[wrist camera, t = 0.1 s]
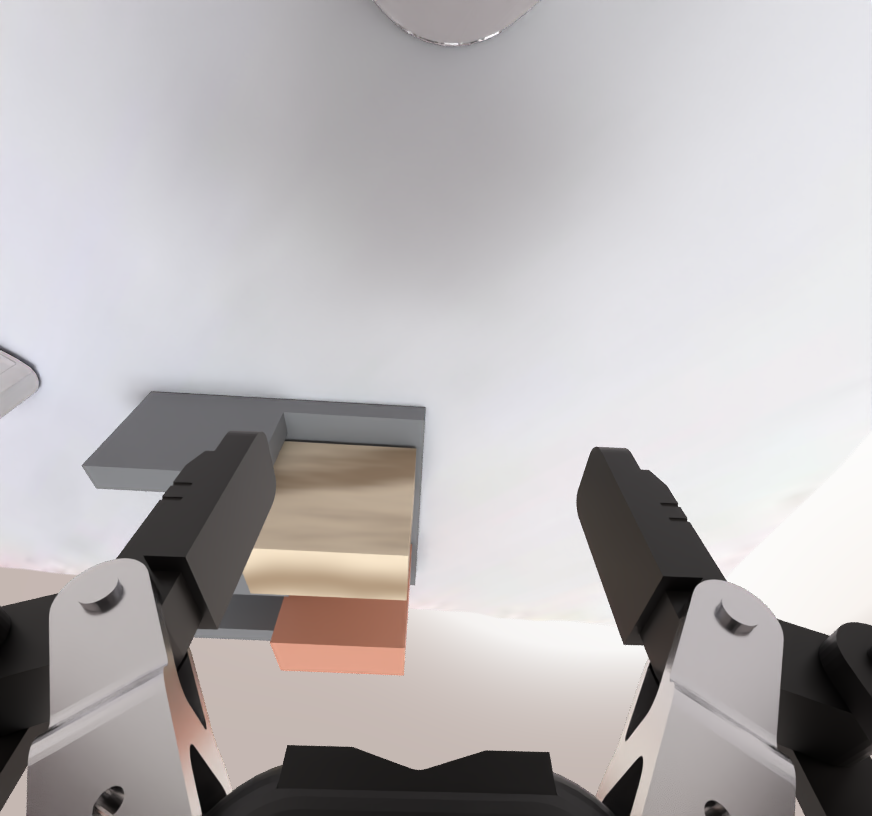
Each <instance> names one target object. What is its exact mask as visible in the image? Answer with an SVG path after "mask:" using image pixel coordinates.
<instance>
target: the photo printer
mask: <svg viewBox="0 0 872 816" xmlns="http://www.w3.org/2000/svg"><path fill="white" fill-rule="evenodd" d="M38 386H39V381H38V377H37V375H36V373H35V372H34V371H33V370H32V369H31V368H30V367H29V366H28V365H26V364H24V363H23V362H21V361H20V360H18V359H16V358H14V357H13V356H11V355H9V354H7V353H5V352H3V351H1V350H0V419H1V418H2V417H3V416H5V415H6V414H7V413H9V412H10V411H11V410H13V409H14V408H15V407H17V406H18V405H19V404H21V403H22V402H23V401H25V400H26V399H27V398H29V397H30V396H31V395H33V394H34V393H35V392H36V391H37V389H38Z"/></svg>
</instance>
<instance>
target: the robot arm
mask: <svg viewBox="0 0 872 816" xmlns="http://www.w3.org/2000/svg"><path fill="white" fill-rule="evenodd" d="M373 1H374V2H375V3H376V4H377V5H378V7H379V8H380V9H381V10H382V11H383V12H384V13H385V14H386V15H387V16H388V17H389V18H390V19H391V20H392V21H394V23H395V24H396V25H397V26H398V27H400V28H401V29H403V30H404V31H406V32H407V33H409V34H411V35H413V36H415V37H417V38H419V39H421V40H423V41H425V42H429V43H433V44H438V45H442V46H447V47H448V46H465V45H471V44H474V43H477V42H481V41H484V40H486V39H489V38H491V37H493V36H495V35H497V34H499V33H501V32H502V30H504V29H505V28H507V27H508V26H510V25H511V24H513V23H514V22H515V21H516V20H517V19H519V18H520V17H521V16H523V15H524V14H525V13H527V12H528V11H529V10H530V9H531V8H533V7H534V6H535V5H536V4H537V3H539V2H540V1H541V0H373ZM275 493H276V477H275V472H274V468H273V463H272V459H271V454H270V450H269V445H268V441H267V437H266V435H265V433H264V432H257V431H234V430H232V431H229V432H228V433H227V434H226V435H225V436H224V438H223V439H222V441H221V442H220V444H219V445H218V447H217V448H216V450H215V451H204V452H203V453H202V454H200V455H199V456H197V457H196V458H195V459H193V460H192V461H190V462H189V463H188V464H186V465H185V467H184V468H183V469H182V471H181V472H180V473H179V475H178V476H177V477H176V479H175V480H174V481H173V486H170V487H169V488H168V490H167V491H166V492H165V494H164V495H163V496H162V497H163V499H162V500H159V502H158V503H157V504H156V506H155V507H154V508H153V510H152V511H151V513H150V514H149V515H148V517H147V518H146V519H145V521H144V522H143V523H142V525H141V526H140V527H139V529H138V530H137V531H136V533H135V534H134V535H133V537H132V538H131V540H130V541H129V542H128V544H127V545H126V546H125V548H124V549H123V550H122V552H121V553H120V554H119V556H118V557H117V558H116V559H114V560H110V561H106V562H103V563H100V564H97V565H95V566H93V567H91V568H89V569H87V570H85V571H84V572H82V573H80V574H79V575H78V576H76V577H75V578H73V579H72V580H71V581H70V582H69V583H67V584H66V585H65V587H64V588H63V589H62V590H61V591H60V592H59V593H57V594H54V595H49V596H45V597H40V598H36V599H32V600H28V601H23V602H19V603H15V604H10V605H6V606H2V607H1V606H0V811H1V810H2V808H3V806H4V804H5V803H6V801H7V799H8V798H9V796H10V794H11V793H12V791H13V789H14V788H15V786H16V784H17V782H18V781H19V779H20V777H21V776H22V774H23V772H24V771H25V768H26V767H27V766H28V771H27V813H26V816H795V797H796V798H797V800H798V802H799V804H800V806H801V808H802V810H803V813H804V815H805V816H872V759H871V757H870V755H872V626H871V625H868V624H863V623H858V622H856V623H855V622H851V623H846V624H844V625H842V626H840V627H839V628H838V629H837V630H836V631H835V632H834V633H833V634H832V635H831V636H828V635H826V634H822V633H819V632H816V631H813V630H809V629H807V628H803V627H800V626H797V625H794V624H791V623H788V622H784V621H782V620H779V619H777V618H776V617H775V615H774V614H773V613H772V611H771V610H770V609H769V608H768V607H767V606H766V605H765V604H764V603H763V602H762V601H761V600H760V599H758V598H757V597H756V596H755V595H753V594H752V593H750V592H749V591H747V590H746V589H744V588H742V587H740V586H737V585H735V584H733V583H730V582H727V581H726V579H725V578H724V576H723V574H722V573H721V571H720V570H719V568H718V567H717V565H716V563H715V562H714V560H713V559H712V557H711V555H710V554H709V552H708V551H707V549H706V547H705V546H704V544H703V543H702V541H701V539H700V538H699V536H698V535H697V533H696V531H695V530H694V528H693V527H692V525H691V523H690V522H687V517H686V515H685V514H684V512H683V511H682V509H681V507H678V503H677V501H676V499H675V498H674V496H673V495H672V493H671V492H670V490H669V488H668V487H667V485H665V484H664V483H663V482H662V481H661V480H660V479H659V478H657V477H656V476H655V475H654V474H653V473H652V472H650V471H649V470H641V469H640V468H639V466H638V464H637V462H636V461H635V459H634V457H633V455H632V454H631V452H630V451H629V450H628V449H626V448H609V447H594V448H593V449H592V451H591V453H590V455H589V458H588V461H587V464H586V468H585V471H584V474H583V477H582V480H581V483H580V486H579V489H578V492H577V512H578V516H579V519H580V522H581V525H582V528H583V531H584V534H585V536H586V539H587V542H588V545H589V548H590V551H591V553H592V556H593V559H594V562H595V565H596V568H597V570H598V573H599V576H600V579H601V582H602V585H603V587H604V590H605V593H606V596H607V599H608V602H609V604H610V607H611V610H612V613H613V616H614V618H615V621H616V624H617V627H618V630H619V633H620V635H621V638H622V641H623V644H624V645H644V647H645V650H646V652H647V654H648V657H649V659H648V660H647V662H646V664H645V666H644V669H643V672H642V675H641V678H640V681H639V684H638V687H637V690H636V692H635V696H634V699H633V701H632V705H631V707H630V710H629V713H628V717H627V719H626V722H625V726H624V728H623V731H622V734H621V737H620V740H619V743H618V746H617V748H616V751H615V753H614V755H613V758H612V759H611V761H610V763H609V765H608V767H607V769H606V772H605V774H604V776H603V778H602V781H601V783H600V786H599V789H598V791H597V794H596V797H595V796H594V795H592V794H591V793H589V792H588V791H587V790H585V789H584V788H582V787H580V786H579V785H578V784H576V783H574V782H572V781H571V780H569V779H567V778H565V777H563V776H561V775H559V774H556V773H554V772H553V771H552V765H551V759H550V754H549V752H522V751H521V752H519V751H483V752H480V753H476V754H473V755H470V756H466V757H463V758H460V759H457V760H454V761H450V762H447V763H444V764H441V765H438V766H434V767H431V768H428V769H424V770H414V769H411V768H408V767H405V766H402V765H400V764H397V763H394V762H392V761H389V760H386V759H383V758H381V757H378V756H375V755H373V754H370V753H367V752H365V751H362V750H359V749H357V748H354V747H334V746H295V745H287V749H286V753H285V758H284V761H283V765H281V766H278V767H275V768H272V769H270V770H268V771H266V772H263V773H261V774H259V775H257V776H255V777H254V778H252V779H250V780H248V781H247V782H245V783H244V784H242V785H240V786H239V787H237V788H236V789H235V790H232V787H231V783H230V780H229V777H228V773H227V770H226V767H225V764H224V762H223V759H222V756H221V754H220V752H219V749H218V747H217V744H216V741H215V738H214V735H213V732H212V728H211V725H210V721H209V717H208V713H207V710H206V706H205V702H204V698H203V695H202V691H201V687H200V684H199V679H198V676H197V672H196V669H195V664H194V661H193V657H192V654H191V650H190V648H189V646H190V643H191V641H192V639H193V637H194V635H195V633H196V631H197V629H213V630H218V628H219V625H220V623H221V621H222V619H223V616H224V614H225V612H226V609H227V607H228V605H229V603H230V600H231V598H232V596H233V593H234V591H235V589H236V587H237V584H238V582H239V580H240V577H241V575H242V573H243V571H244V568H245V566H246V564H247V561H248V559H249V557H250V555H251V552H252V550H253V548H254V545H255V543H256V541H257V539H258V536H259V534H260V532H261V529H262V527H263V525H264V523H265V520H266V518H267V516H268V513H269V511H270V509H271V507H272V504H273V502H274V498H275Z"/></svg>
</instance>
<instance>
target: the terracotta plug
mask: <svg viewBox="0 0 872 816" xmlns="http://www.w3.org/2000/svg"><path fill="white" fill-rule="evenodd" d="M411 554H412V544H411V547H410V561H409V575H408V589H407V600H385V599H363V598H341V597H319V596H298V595H289V597H286V596H284V599H283V602H282V605H281V609H280V612H279V615H278V618H277V622H276V625H275V628H274V631H273V634H272V638H271V641H270V644H271V647H272V649H273V652H274V654H275V657H276V659H277V662H278V664H279V667H280V669H281V670H283V671H284V670H285V671H308V672H333V673H356V674H381V675H404V665H405V650H406V634H407V620H408V605H409V590H410V575H411Z"/></svg>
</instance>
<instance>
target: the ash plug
mask: <svg viewBox="0 0 872 816" xmlns="http://www.w3.org/2000/svg"><path fill="white" fill-rule="evenodd" d="M415 467H416V448H399V447H381V446H363V445H345V444H327V443H309V442H291V441H284V443H283V445H282V448H281V450H280V452H279V454H278V457H277V459H276V461H275V463H274V466H273V468H274V472H275V477H276V493H275V498H274V502H273V504H272V507H271V509H270V511H269V513H268V516H267V518H266V520H265V523H264V525H263V527H262V529H261V532H260V534H259V536H258V539H257V541H256V543H255V545H254V548H253V550H252V552H251V555H250V557H249V559H248V561H247V564H246V566H245V568H244V571H243V575H244V578H245V580H246V583H247V585H248V588H249V591H250V593H254V594H276V595H298V596H319V597H341V598H363V599H385V600H407V589H408V575H409V561H410V547H411V533H412V519H413V505H414V489H415Z"/></svg>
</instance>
